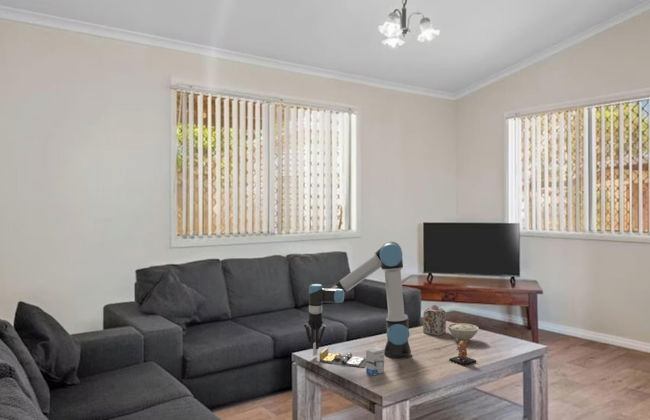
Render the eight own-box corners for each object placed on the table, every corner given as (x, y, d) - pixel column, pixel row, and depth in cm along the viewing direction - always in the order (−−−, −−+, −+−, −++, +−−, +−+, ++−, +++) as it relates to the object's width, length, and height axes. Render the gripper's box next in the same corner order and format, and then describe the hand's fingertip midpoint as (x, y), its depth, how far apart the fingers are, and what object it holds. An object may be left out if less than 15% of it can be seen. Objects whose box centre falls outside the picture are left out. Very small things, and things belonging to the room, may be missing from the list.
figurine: (449, 361, 265) (449, 339, 264) (461, 357, 271) (461, 336, 270) (464, 366, 257) (464, 344, 256) (476, 362, 263) (476, 340, 262)
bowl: (442, 342, 301) (442, 326, 300) (452, 335, 317) (452, 319, 317) (474, 347, 290) (474, 330, 290) (482, 339, 307) (482, 324, 307)
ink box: (372, 375, 241) (372, 352, 241) (365, 373, 245) (365, 349, 245) (384, 372, 246) (384, 349, 246) (377, 369, 250) (377, 346, 250)
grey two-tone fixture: (370, 359, 266) (370, 359, 266) (364, 367, 252) (364, 367, 252) (327, 354, 274) (327, 353, 274) (319, 362, 261) (319, 361, 261)
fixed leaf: (364, 358, 266) (364, 353, 266) (358, 366, 253) (358, 360, 253) (347, 356, 269) (347, 351, 269) (340, 364, 257) (340, 358, 257)
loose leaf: (343, 356, 269) (343, 349, 269) (336, 363, 258) (336, 355, 258) (326, 354, 272) (327, 347, 272) (319, 361, 261) (319, 353, 261)
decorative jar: (429, 329, 330) (430, 303, 330) (446, 332, 324) (446, 305, 323) (422, 333, 321) (422, 306, 320) (439, 336, 314) (439, 308, 314)
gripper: (328, 312, 269) (328, 354, 270) (307, 310, 274) (306, 351, 274) (324, 314, 262) (323, 358, 263) (302, 312, 267) (301, 355, 267)
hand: (315, 354), depth 268 cm, fingers closed
